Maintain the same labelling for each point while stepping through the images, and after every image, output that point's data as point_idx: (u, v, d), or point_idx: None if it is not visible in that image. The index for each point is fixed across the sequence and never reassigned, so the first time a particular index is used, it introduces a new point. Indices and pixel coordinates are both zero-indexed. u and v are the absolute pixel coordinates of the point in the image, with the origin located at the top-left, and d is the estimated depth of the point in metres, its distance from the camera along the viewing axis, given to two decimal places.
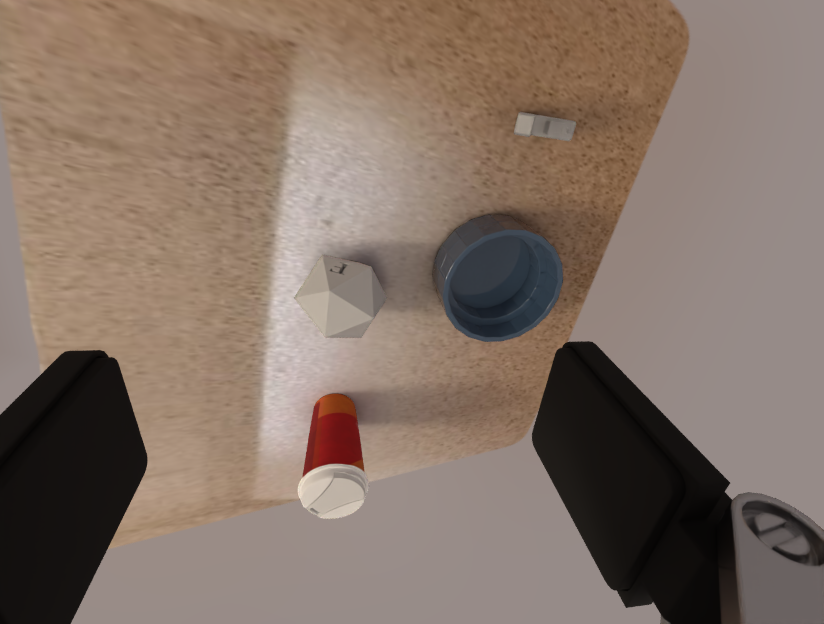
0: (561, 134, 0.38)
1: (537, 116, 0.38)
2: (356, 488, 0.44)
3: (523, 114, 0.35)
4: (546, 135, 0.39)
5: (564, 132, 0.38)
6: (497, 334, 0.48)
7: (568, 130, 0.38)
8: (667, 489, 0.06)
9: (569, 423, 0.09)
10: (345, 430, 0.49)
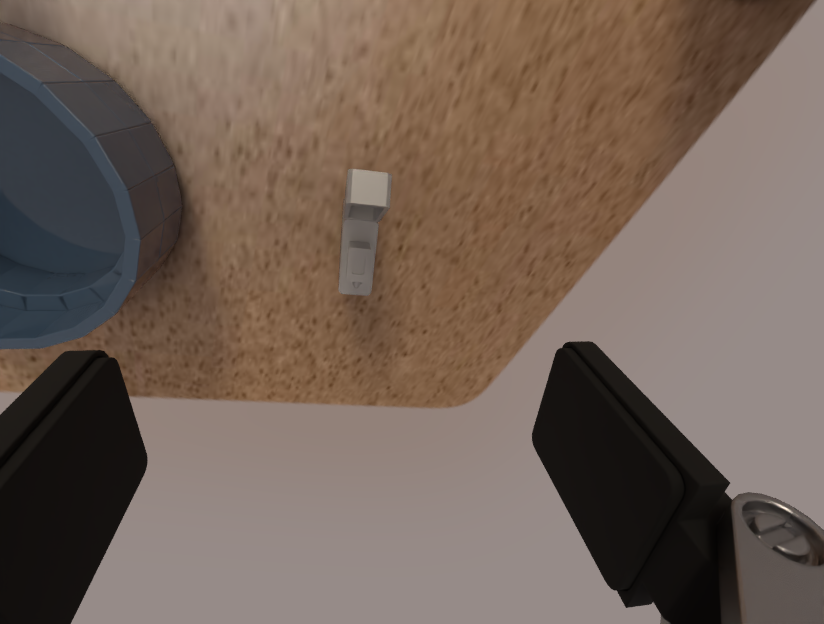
0: (350, 273, 0.21)
1: (376, 224, 0.21)
2: None
3: (388, 183, 0.17)
4: (344, 248, 0.21)
5: (353, 278, 0.21)
6: None
7: (357, 284, 0.21)
8: (667, 489, 0.06)
9: (569, 423, 0.09)
10: None
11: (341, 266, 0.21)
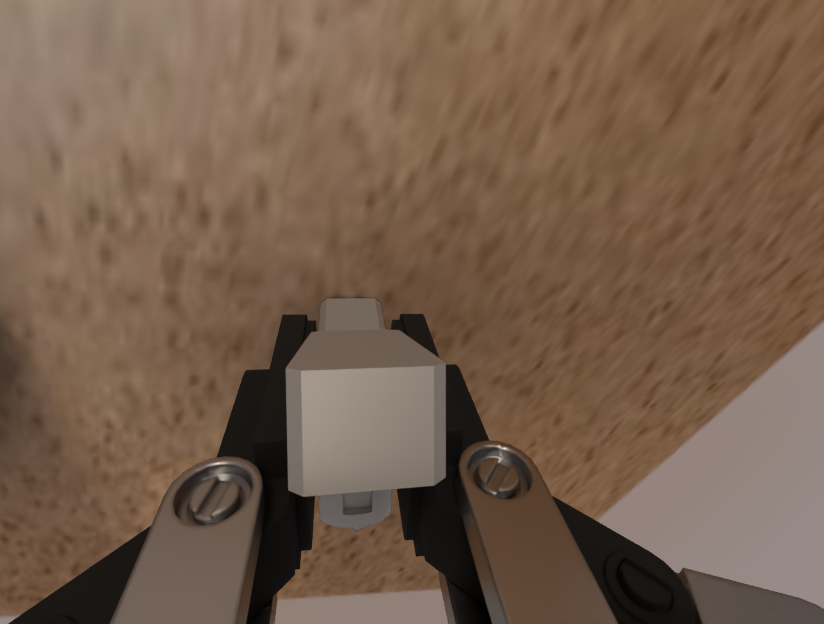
0: (339, 516, 0.09)
1: None
2: None
3: (437, 401, 0.05)
4: None
5: (349, 522, 0.09)
6: None
7: (359, 528, 0.09)
8: None
9: None
10: None
11: None
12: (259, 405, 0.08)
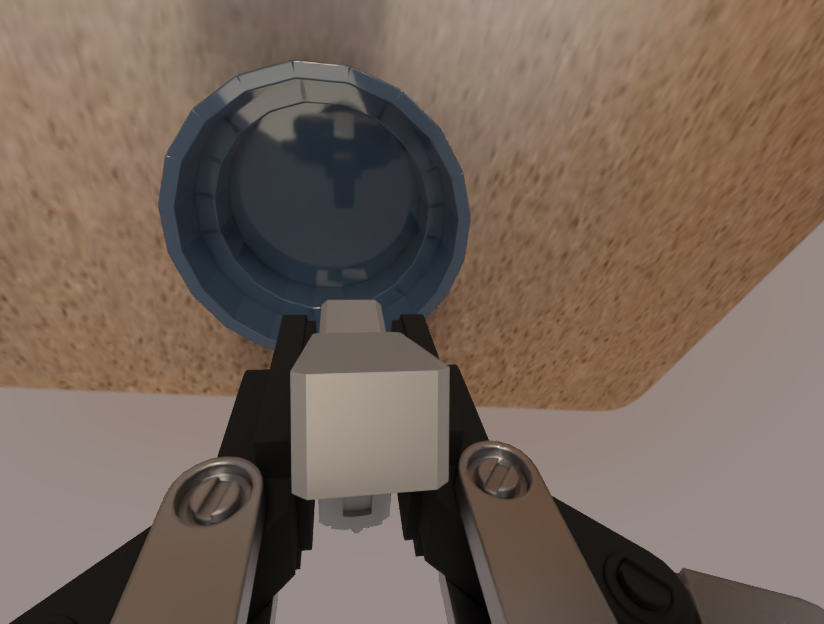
0: (339, 518, 0.09)
1: None
2: None
3: (441, 405, 0.05)
4: None
5: (348, 524, 0.09)
6: (185, 240, 0.18)
7: (358, 530, 0.09)
8: None
9: None
10: None
11: None
12: (260, 405, 0.08)
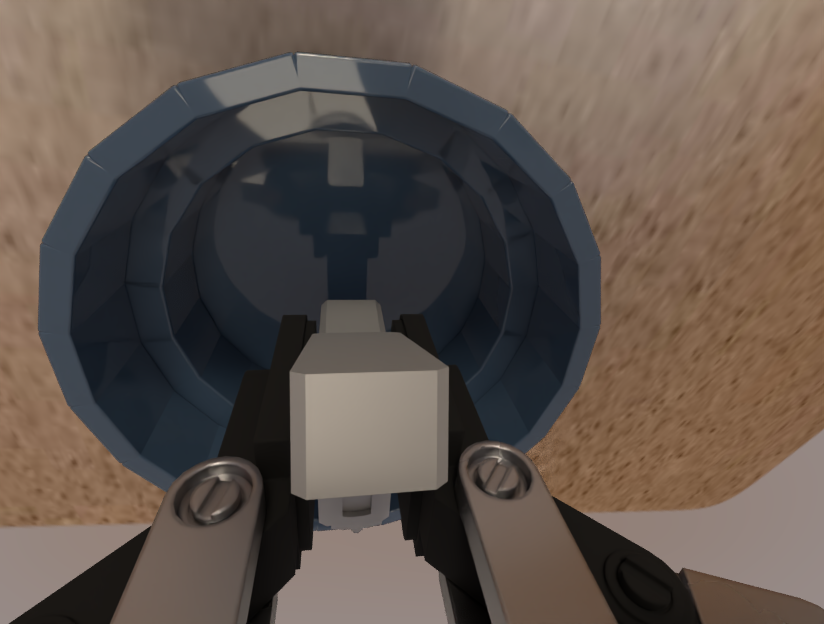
0: (338, 518, 0.09)
1: None
2: None
3: (440, 406, 0.05)
4: None
5: (348, 524, 0.09)
6: (103, 376, 0.10)
7: (358, 530, 0.09)
8: None
9: None
10: None
11: None
12: (259, 405, 0.08)
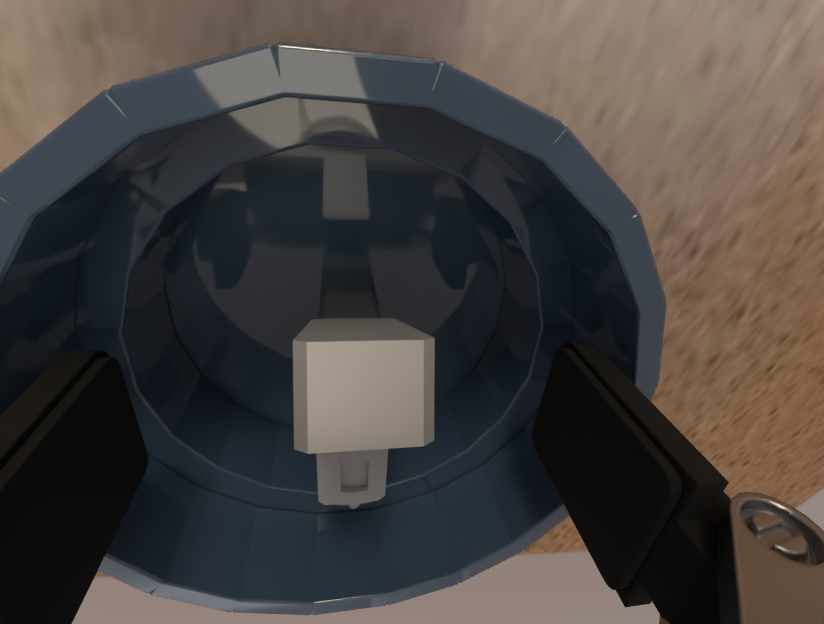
0: (337, 493, 0.09)
1: None
2: None
3: (426, 371, 0.05)
4: None
5: (346, 499, 0.09)
6: None
7: (355, 506, 0.10)
8: (665, 488, 0.06)
9: (568, 423, 0.09)
10: None
11: (319, 462, 0.10)
12: None
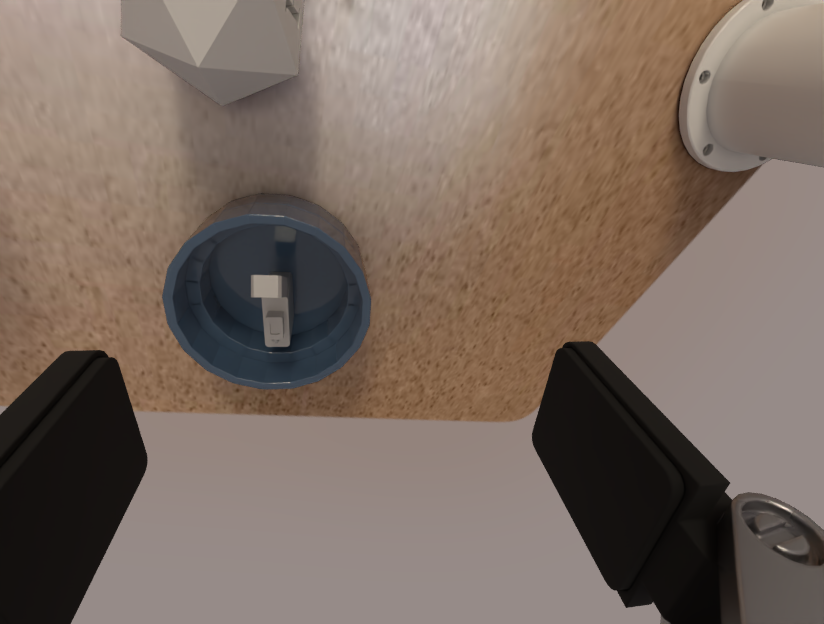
0: (269, 334, 0.29)
1: (285, 298, 0.29)
2: None
3: (278, 282, 0.25)
4: (265, 316, 0.29)
5: (272, 337, 0.29)
6: (179, 315, 0.28)
7: (276, 341, 0.29)
8: (667, 489, 0.06)
9: (569, 423, 0.09)
10: None
11: (264, 328, 0.30)
12: None
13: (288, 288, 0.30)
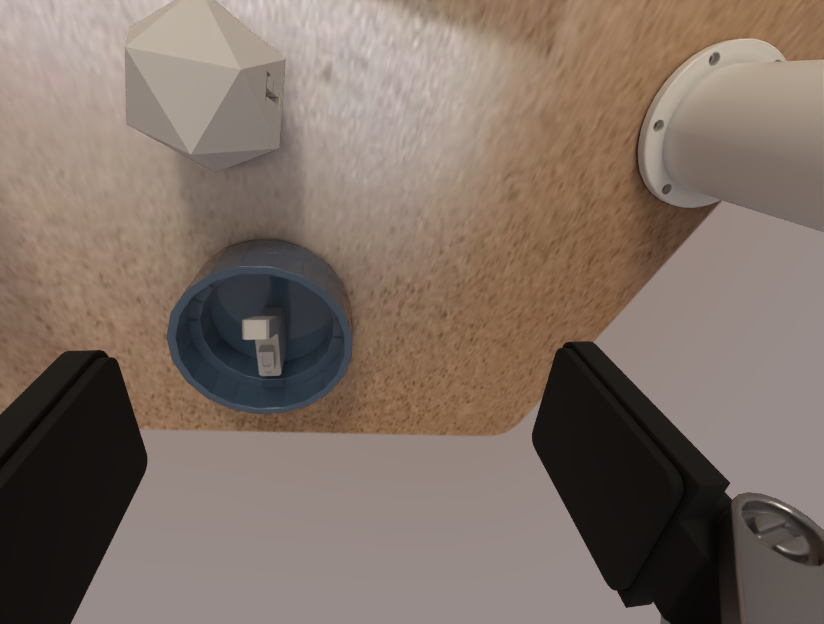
0: (261, 366, 0.32)
1: (276, 334, 0.32)
2: None
3: (266, 325, 0.28)
4: (258, 349, 0.33)
5: (264, 369, 0.33)
6: (182, 351, 0.31)
7: (268, 372, 0.33)
8: (667, 489, 0.06)
9: (569, 423, 0.09)
10: None
11: (258, 360, 0.33)
12: None
13: (279, 323, 0.34)
